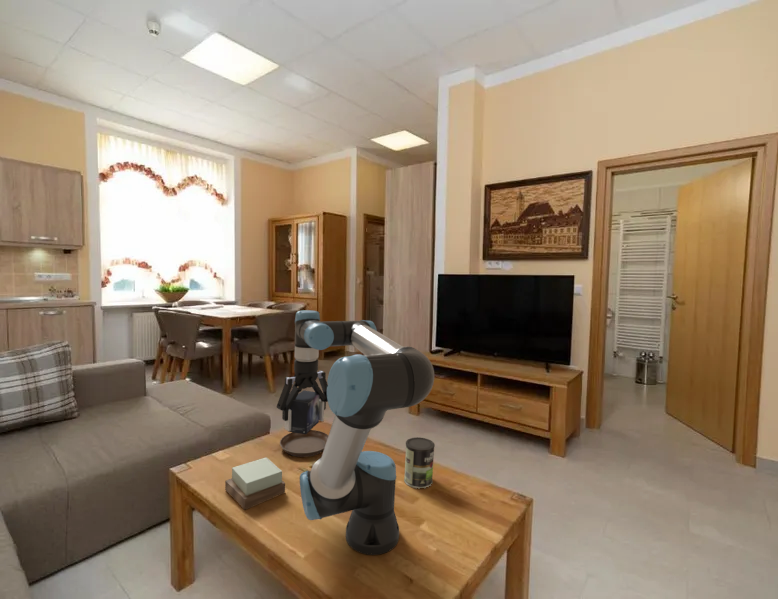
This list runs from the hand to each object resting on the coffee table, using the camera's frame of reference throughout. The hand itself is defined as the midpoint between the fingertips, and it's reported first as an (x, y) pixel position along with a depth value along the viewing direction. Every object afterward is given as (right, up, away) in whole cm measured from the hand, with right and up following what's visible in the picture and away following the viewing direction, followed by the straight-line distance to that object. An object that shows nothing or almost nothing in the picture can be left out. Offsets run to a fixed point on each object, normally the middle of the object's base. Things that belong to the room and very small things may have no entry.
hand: (304, 424), depth 126 cm
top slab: (-17, -20, +4) cm, 26 cm away
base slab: (-17, -24, +4) cm, 30 cm away
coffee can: (+38, -25, +14) cm, 48 cm away
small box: (0, -1, 0) cm, 1 cm away
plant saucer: (-8, -22, +36) cm, 43 cm away
